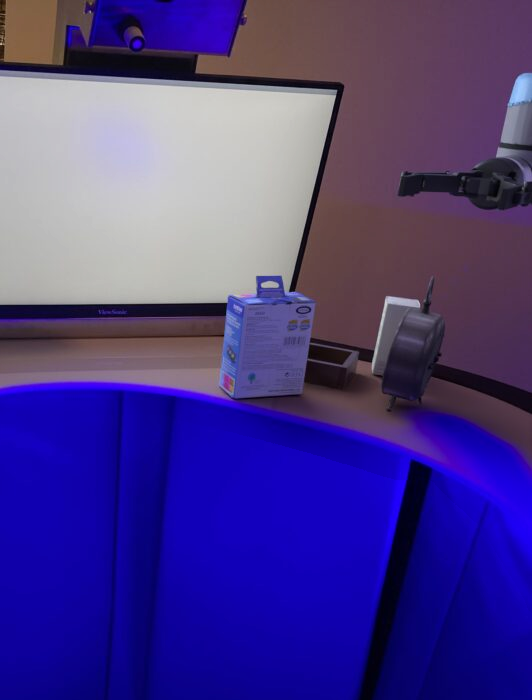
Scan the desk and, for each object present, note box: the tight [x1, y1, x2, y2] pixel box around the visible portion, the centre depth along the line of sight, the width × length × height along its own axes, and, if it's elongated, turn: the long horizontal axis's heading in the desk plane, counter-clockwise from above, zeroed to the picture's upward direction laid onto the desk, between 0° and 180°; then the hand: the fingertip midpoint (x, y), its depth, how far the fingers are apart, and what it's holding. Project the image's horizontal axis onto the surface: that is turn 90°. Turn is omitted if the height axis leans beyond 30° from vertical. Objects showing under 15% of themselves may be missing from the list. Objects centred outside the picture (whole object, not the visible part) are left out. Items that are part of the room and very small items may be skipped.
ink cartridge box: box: [218, 275, 317, 399], centre depth 106 cm, size 10×6×14 cm, turn 106°
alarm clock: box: [380, 276, 446, 413], centre depth 103 cm, size 11×5×16 cm, turn 149°
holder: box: [304, 342, 360, 390], centre depth 115 cm, size 8×8×3 cm
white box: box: [371, 295, 421, 377], centre depth 116 cm, size 5×4×10 cm
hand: (450, 192), depth 115 cm, fingers open, 13 cm apart
